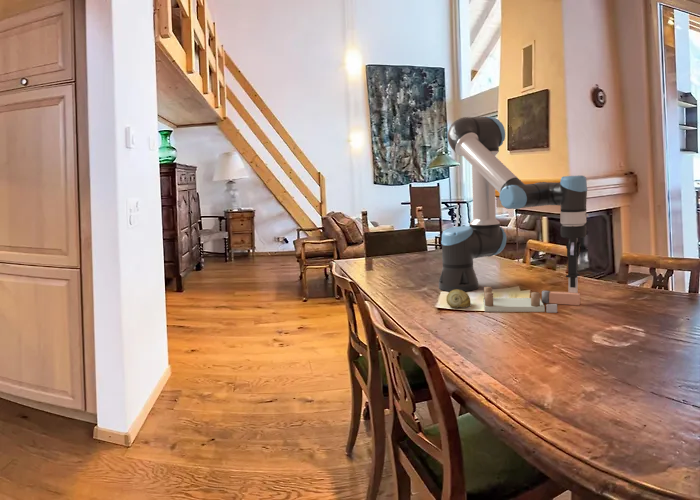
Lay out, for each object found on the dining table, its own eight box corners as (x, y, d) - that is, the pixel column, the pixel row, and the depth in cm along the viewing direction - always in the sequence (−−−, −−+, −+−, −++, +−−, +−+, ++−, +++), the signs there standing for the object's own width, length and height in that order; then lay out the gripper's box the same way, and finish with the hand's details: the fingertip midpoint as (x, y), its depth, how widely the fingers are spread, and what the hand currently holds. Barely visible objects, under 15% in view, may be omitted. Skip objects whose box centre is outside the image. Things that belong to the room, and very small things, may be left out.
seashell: (457, 314, 168) (442, 297, 169) (473, 301, 167) (457, 283, 168) (459, 317, 158) (442, 298, 159) (475, 303, 157) (459, 284, 159)
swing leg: (541, 302, 160) (541, 292, 160) (542, 300, 162) (542, 290, 162) (579, 305, 155) (579, 294, 154) (579, 303, 157) (579, 292, 156)
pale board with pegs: (484, 312, 154) (484, 295, 153) (483, 302, 165) (483, 286, 165) (557, 312, 149) (557, 294, 148) (550, 302, 160) (550, 286, 159)
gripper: (585, 227, 147) (584, 302, 151) (587, 221, 158) (586, 292, 162) (558, 227, 150) (558, 300, 154) (562, 222, 162) (562, 290, 165)
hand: (572, 296), depth 158 cm, fingers closed
